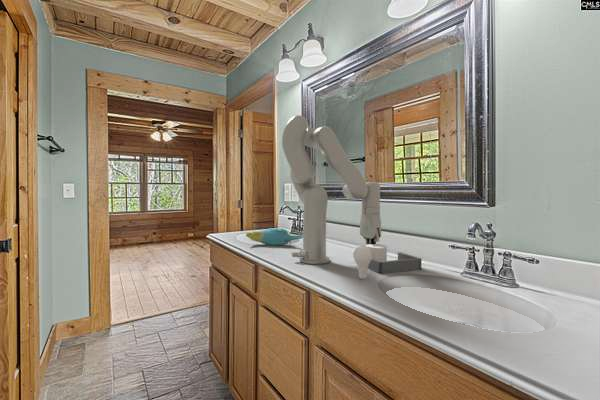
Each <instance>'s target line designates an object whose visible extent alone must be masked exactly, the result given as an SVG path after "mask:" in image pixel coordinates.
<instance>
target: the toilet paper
mask: <svg viewBox="0 0 600 400" xmlns="http://www.w3.org/2000/svg"><path fill="white" fill-rule="evenodd" d="M365 247H367V248H369V249H370V251H371V252H372V258H373V259H375V260H378V261H380V262H381V261H388V260H387V257H388V256H387V253H388V252H387V251H388V250H387V248H388V247H387V245H385V244H379V243H376V244H368V245H367V244H366V245H365Z"/></svg>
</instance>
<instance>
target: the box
mask: <svg viewBox="0 0 600 400" xmlns="http://www.w3.org/2000/svg"><path fill="white" fill-rule="evenodd" d="M368 269H369V270H370V271H372V272H375V273H377V274H379V275H380V274H381V275H382V274H390V273H399V272H409V271H410V272H411V271H417V270H422V258H421V257H417V256H414V255H410V254H408V253H404V252H401V251H399V252H398V251H397V259H394V260H387V261H381V262H380V261H378V260H375V259H373V258H372V259H371V261H370V263H369V265H368Z"/></svg>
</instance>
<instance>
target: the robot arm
mask: <svg viewBox="0 0 600 400" xmlns="http://www.w3.org/2000/svg"><path fill="white" fill-rule="evenodd" d="M281 146H282V150H283V153H284V155H285V158H286V161H287V162H288V165H289V167H290V172H289V175H290V180H291V183H292V185H293V186H294V189H295V191H296V193H297V195H298V197H299V200H300V201H301V203H302V204H303V216H302V217H303V218H302V223H303V225H302V226H303V230H302V231H303V233H302V235H303V238H302V240H303V241H302V244H303V247H302V248H301V249H300V251H293V252H292V253H291V256H292V258H297V259H298V258H299V262H301V263H303V264H309V265H323V264H327V263H329V262H330V257H329V256H327V209H328V198H329V197H328V193H327V191H326V189H325V188H324V187H322V186H321V185H319V184H317V182H316V180H315V177H316V171H315V168H314V166H313V164H312V162H311V159H310V157H309V154H308V153H307V150H306V147H308V148H313V149H316V150H319V151H320V153H321V155H322V157H323V158H324V160H325V163H326V164H327V165H328V167H329V169H331V170H332V171H333V172H335V173H337V174H338V176H340V177H341V179H342V180H343V182H344V183H345V184H344V186H343V188H342V194H343V196H344V197H345V198H346V199H349V200H358V201H359V200H361V215H360V222H359V235H360V236H361V237H362V238H363V239H365V244H366V245H368V244H377V242H380V238H381V237H382V221H381V219H382V218H381V184H380V183H379V182H375V181H368V182H367V181H366V180H365V179H364V176H363V174H362V173H361V171H360V170H359V168H358V167H357V166H356V165H355V164H354V163H353V162H352V160H351V159H350V158H349V157H348V156H347V154H346V152H345V150H344V149H343V147H342V145H341V144H340V141H339V139H338V138H337V136H336V134H335V132H334V131H333V129H332V128H331V127H330V126H327V125H324V126H320V127H318V128H314V127H311V126H309V122H308V120H307V119H306V117H305V116H303V115H299V114H298V115H297V114H296V115H294V116H293V117H291V118H290V119H289V120H288V121H287V123H286V124H285V126H284V129H283V132H282V137H281ZM305 146H306V147H305Z"/></svg>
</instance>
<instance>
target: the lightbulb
mask: <svg viewBox="0 0 600 400" xmlns="http://www.w3.org/2000/svg"><path fill="white" fill-rule="evenodd" d="M352 255H353V256H352V257H353V259H354V261H355V264H356V266H357V271H358V278H359V279H361V280H365V279H367V273H368V265H369V263H370V261H371V259H372V252H371V251H370V249H369V248H367V247H366V245H365V246H364V245H363V246H362V245H361V246H357V247H356V248H355V249H354V251H353V253H352Z"/></svg>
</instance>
